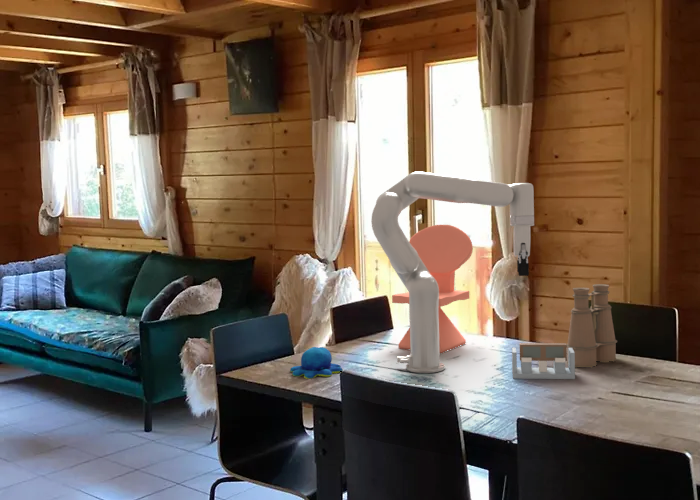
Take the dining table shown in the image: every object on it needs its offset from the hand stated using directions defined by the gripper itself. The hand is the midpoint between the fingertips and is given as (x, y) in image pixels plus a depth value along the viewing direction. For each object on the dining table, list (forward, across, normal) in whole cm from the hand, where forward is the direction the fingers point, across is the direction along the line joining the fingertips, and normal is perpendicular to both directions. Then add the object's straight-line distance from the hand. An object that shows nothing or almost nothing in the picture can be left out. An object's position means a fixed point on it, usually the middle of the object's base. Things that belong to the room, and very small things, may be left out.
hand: (522, 273), depth 246 cm
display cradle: (+30, +13, +5) cm, 33 cm away
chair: (+31, -30, -32) cm, 53 cm away
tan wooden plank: (+25, +13, +5) cm, 29 cm away
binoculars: (+31, -6, +22) cm, 38 cm away
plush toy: (+31, +11, -68) cm, 75 cm away
